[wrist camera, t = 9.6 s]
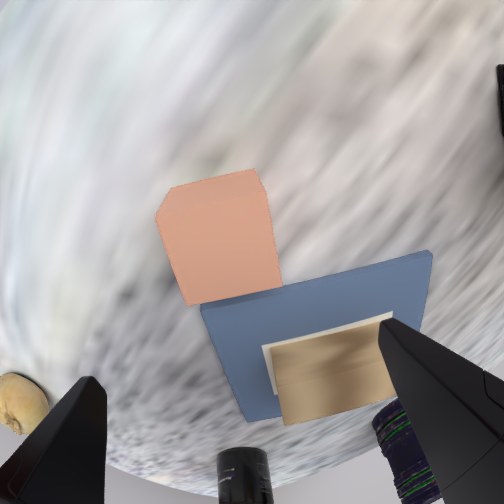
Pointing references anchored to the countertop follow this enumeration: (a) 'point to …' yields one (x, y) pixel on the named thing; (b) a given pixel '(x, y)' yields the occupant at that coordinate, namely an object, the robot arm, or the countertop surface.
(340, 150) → the countertop surface
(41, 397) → the onion
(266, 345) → the board
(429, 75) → the countertop surface
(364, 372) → the oak brick
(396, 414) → the storage jar
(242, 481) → the supplement bottle
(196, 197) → the terracotta cube
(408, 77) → the countertop surface
